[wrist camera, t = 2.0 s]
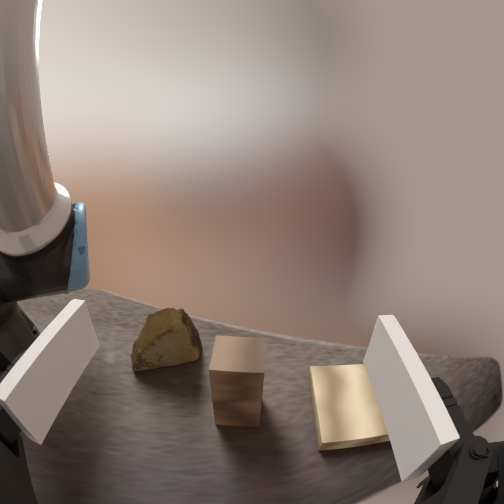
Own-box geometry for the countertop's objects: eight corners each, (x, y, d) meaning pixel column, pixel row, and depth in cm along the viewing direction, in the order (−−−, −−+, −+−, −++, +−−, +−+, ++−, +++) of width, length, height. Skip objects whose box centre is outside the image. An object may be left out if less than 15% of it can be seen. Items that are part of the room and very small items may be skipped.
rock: (115, 374, 31) (187, 378, 30) (110, 309, 33) (181, 306, 32) (149, 365, 41) (207, 365, 41) (145, 313, 43) (203, 310, 43)
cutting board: (318, 450, 24) (322, 442, 24) (307, 376, 35) (310, 366, 35) (436, 428, 24) (443, 420, 23) (408, 368, 35) (413, 358, 34)
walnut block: (215, 424, 28) (208, 369, 24) (220, 393, 32) (216, 335, 28) (259, 427, 28) (264, 372, 24) (259, 395, 32) (264, 337, 28)
